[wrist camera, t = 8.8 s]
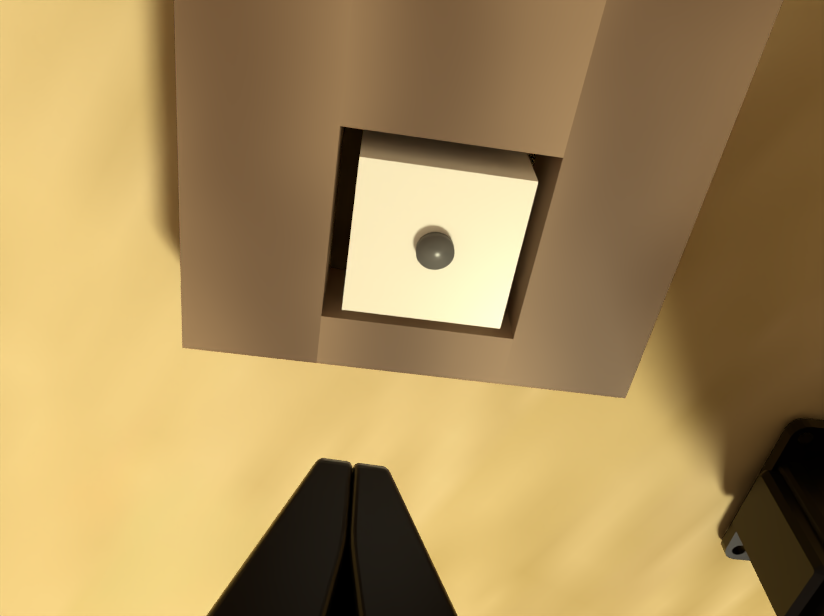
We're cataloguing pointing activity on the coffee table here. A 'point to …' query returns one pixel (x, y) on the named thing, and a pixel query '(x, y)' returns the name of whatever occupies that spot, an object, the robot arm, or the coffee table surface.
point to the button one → (436, 229)
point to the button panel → (461, 123)
